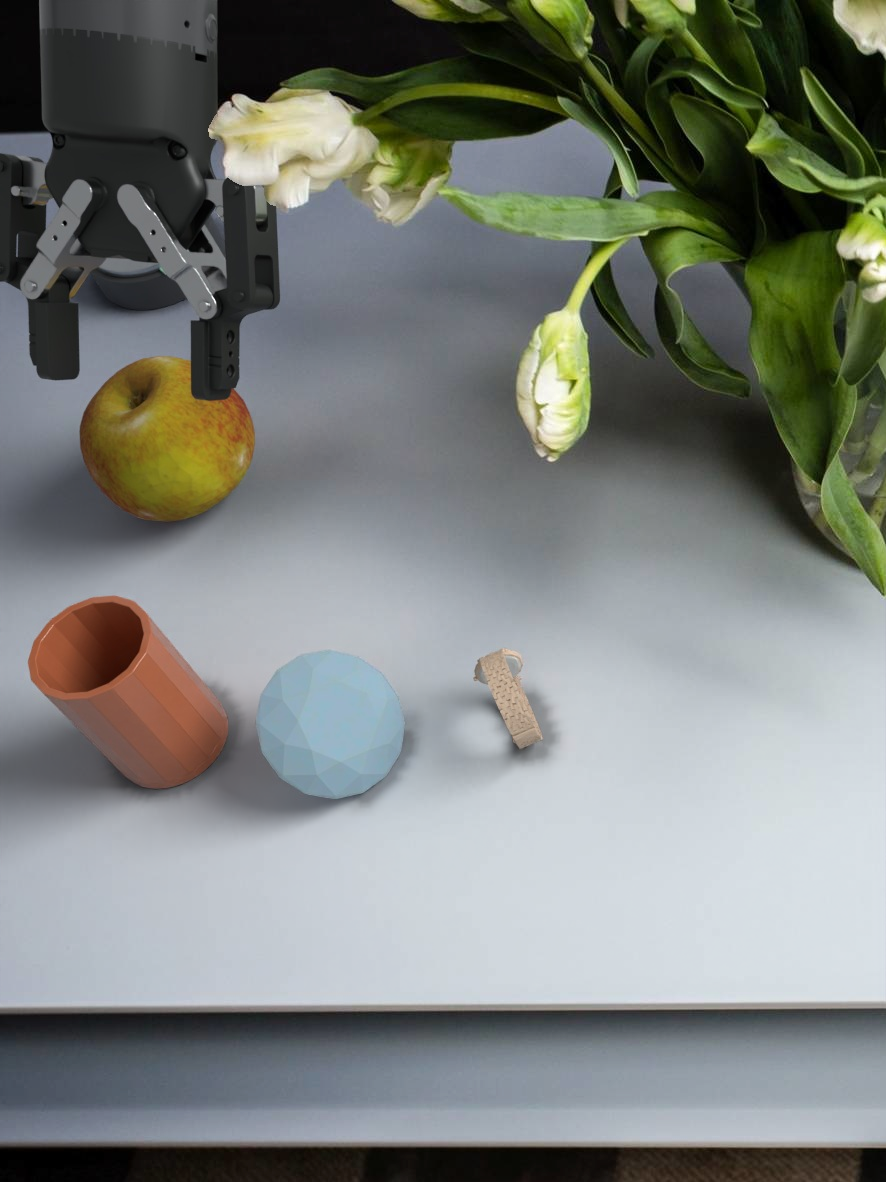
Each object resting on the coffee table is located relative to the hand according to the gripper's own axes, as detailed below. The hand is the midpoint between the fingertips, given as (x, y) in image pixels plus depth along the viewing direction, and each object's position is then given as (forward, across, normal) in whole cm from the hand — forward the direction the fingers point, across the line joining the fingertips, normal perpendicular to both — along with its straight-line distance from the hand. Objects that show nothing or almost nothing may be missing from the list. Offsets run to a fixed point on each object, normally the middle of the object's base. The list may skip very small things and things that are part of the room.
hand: (134, 389), depth 79 cm
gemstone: (+18, +10, +4) cm, 21 cm away
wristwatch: (+16, +19, +6) cm, 25 cm away
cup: (+19, 0, +3) cm, 19 cm away
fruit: (+7, -7, +15) cm, 18 cm away
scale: (-5, -18, +26) cm, 32 cm away
